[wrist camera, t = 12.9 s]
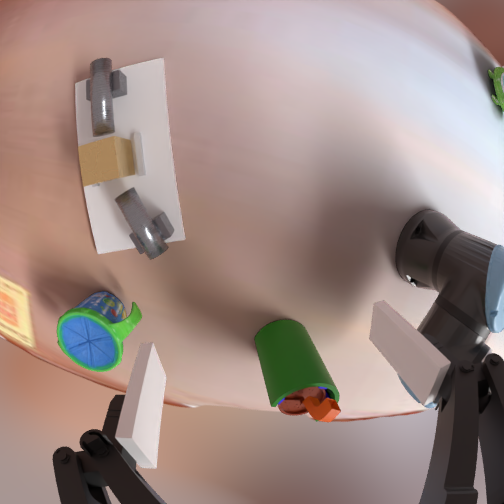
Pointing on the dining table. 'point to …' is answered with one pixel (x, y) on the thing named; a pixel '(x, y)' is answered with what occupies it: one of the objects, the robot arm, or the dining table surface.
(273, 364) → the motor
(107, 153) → the block
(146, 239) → the shaft
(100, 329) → the snack cup
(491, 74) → the turtle holder
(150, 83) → the base plate
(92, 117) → the shaft
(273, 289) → the dining table surface
